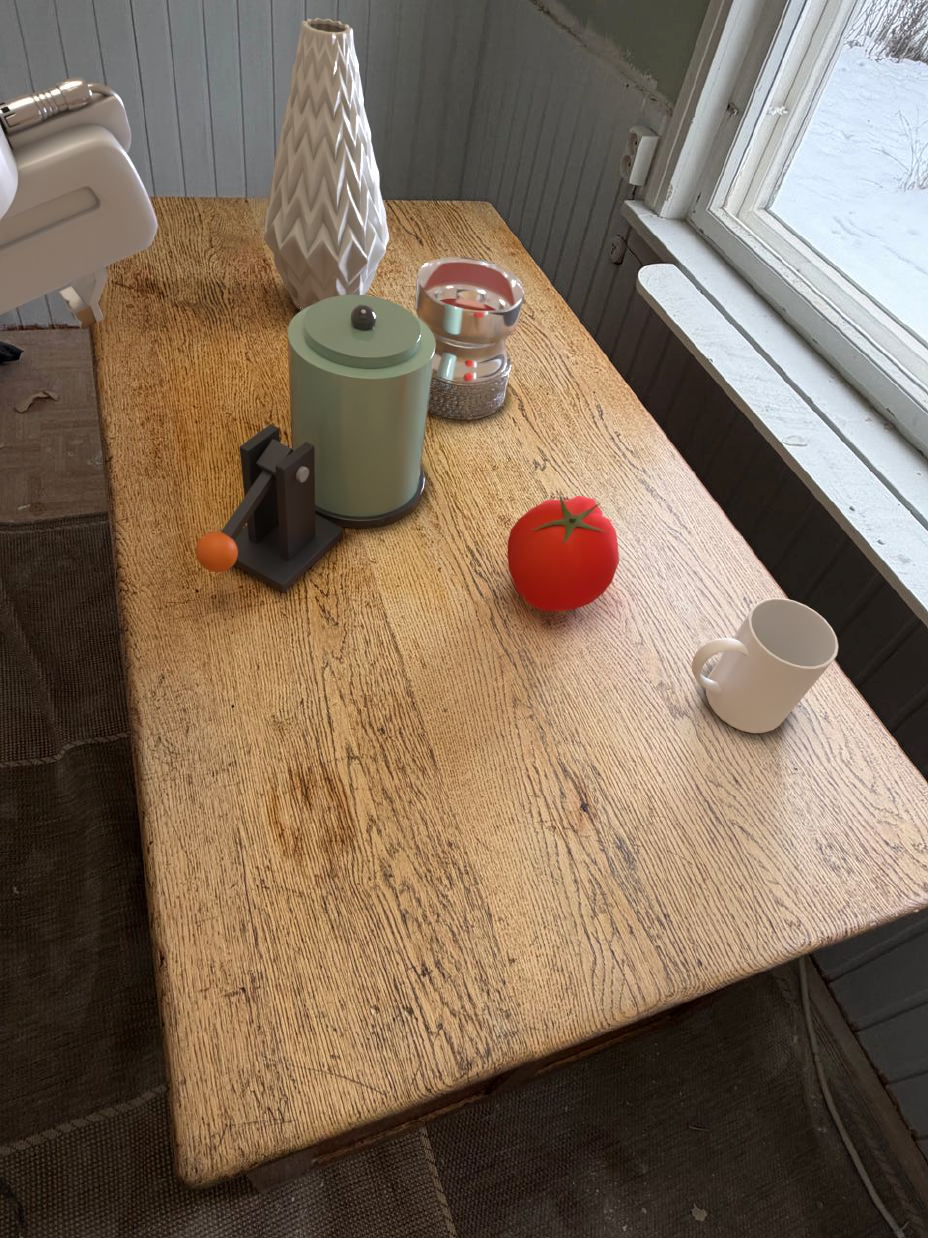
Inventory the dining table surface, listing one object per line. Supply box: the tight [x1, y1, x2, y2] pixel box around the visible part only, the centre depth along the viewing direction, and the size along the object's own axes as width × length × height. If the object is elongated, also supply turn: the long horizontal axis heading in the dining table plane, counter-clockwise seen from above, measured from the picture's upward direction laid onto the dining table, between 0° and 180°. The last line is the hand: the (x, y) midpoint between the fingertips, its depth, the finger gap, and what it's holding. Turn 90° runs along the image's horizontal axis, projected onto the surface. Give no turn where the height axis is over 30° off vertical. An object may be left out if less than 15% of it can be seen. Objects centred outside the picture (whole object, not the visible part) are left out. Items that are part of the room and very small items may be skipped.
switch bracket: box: [233, 423, 344, 593], centre depth 75 cm, size 10×8×13 cm
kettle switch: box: [195, 439, 293, 573], centre depth 70 cm, size 13×4×4 cm, turn 150°
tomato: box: [506, 495, 620, 612], centre depth 77 cm, size 11×13×10 cm
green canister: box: [286, 294, 436, 529], centre depth 80 cm, size 15×15×21 cm
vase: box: [263, 17, 390, 312], centre depth 99 cm, size 17×17×33 cm
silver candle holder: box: [414, 256, 525, 421], centre depth 98 cm, size 13×18×15 cm
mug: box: [691, 597, 839, 734], centre depth 71 cm, size 12×8×10 cm, turn 102°
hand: (13, 351), depth 46 cm, fingers open, 8 cm apart
